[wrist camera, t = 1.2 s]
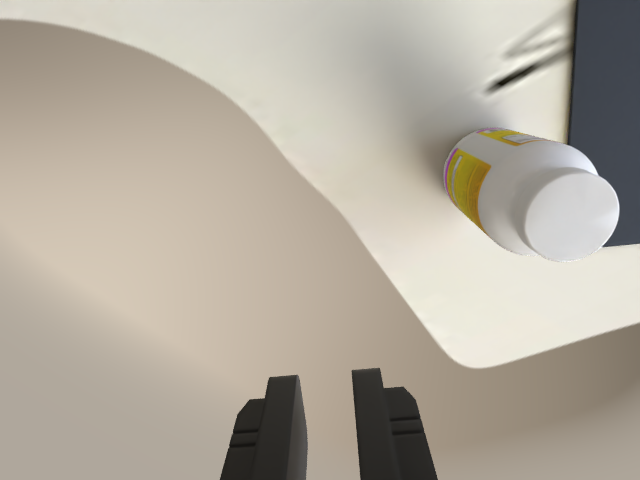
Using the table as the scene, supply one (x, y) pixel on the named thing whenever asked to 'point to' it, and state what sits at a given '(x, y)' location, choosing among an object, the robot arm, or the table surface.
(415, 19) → the table surface
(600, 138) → the mat
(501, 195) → the supplement bottle
